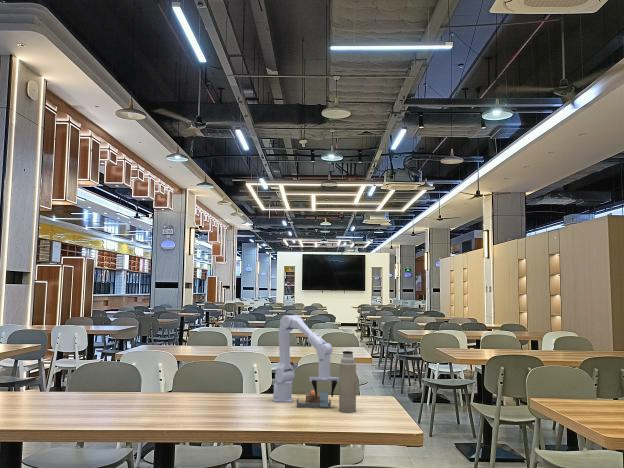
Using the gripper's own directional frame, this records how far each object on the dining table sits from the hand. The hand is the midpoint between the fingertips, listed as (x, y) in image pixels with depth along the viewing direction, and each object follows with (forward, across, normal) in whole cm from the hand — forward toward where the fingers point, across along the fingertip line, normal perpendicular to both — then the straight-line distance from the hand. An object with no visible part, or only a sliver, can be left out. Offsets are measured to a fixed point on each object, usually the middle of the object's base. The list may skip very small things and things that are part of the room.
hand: (324, 396), depth 276 cm
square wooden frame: (+5, -5, +11) cm, 13 cm away
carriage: (+5, 0, 0) cm, 5 cm away
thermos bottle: (+5, +11, -8) cm, 15 cm away
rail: (+5, -5, 0) cm, 7 cm away
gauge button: (+3, -5, +11) cm, 12 cm away
